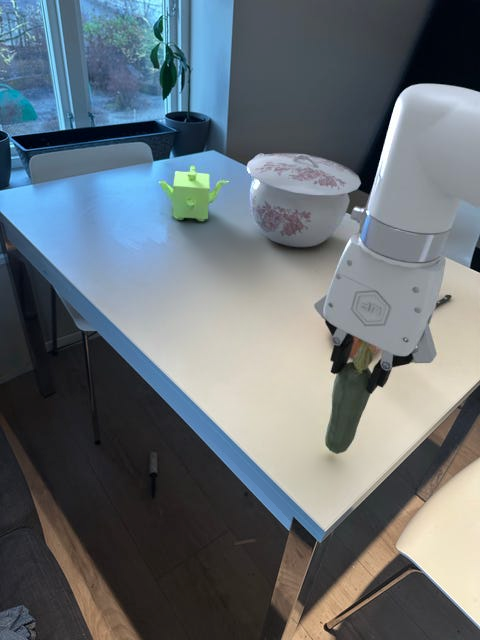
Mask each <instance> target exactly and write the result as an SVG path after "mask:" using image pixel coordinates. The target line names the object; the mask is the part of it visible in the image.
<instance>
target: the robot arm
mask: <svg viewBox="0 0 480 640" xmlns="http://www.w3.org/2000/svg"><path fill="white" fill-rule="evenodd" d="M462 202H465V203H466V204H468V205H470V206H473V207H474V208H477V209H479V210H480V91H476V90H474V89H471V88H466V87H462V86H456V85H450V84H440V83H418V84H412V85H410V86H408V87H406V88H405V89H404V90H403V91H402V92H401V93H399V96H398V97H397V99H396V101H395V104H394V107H393V111H392V113H391V118H390V121H389V125H388V129H387V131H386V136H385V139H384V143H383V147H382V151H381V155H380V160H379V163H378V166H377V170H376V174H375V177H374V181H373V185H372V189H371V193H370V197H369V200H368V204H367V206H363V207H361V206H358V205H355V206H354V207H353V209H352V210H351V213H350V219H351V220H353V221H355V222H356V223H357V224H359V229H358V232H356V233H354V234H352V235H351V236H350V238H349V240H348V242H347V243H346V245H345V248H344V250H343V251H342V254H341V256H340V259H339V261H338V264H337V266H336V269H335V272H334V275H333V277H332V280H331V283H330V286H329V289H328V291H327V294H325V295H324V296H322V298H320V299H319V300H317V301H316V302H315V303H314V304H313V306H314V309H315V310H316V312H317V313H318V314H319V315H320V317H321V318H322V319H324V323H325V325H326V327H327V329H328V331H329V333H330V334H331V336H332V337H331V342H332V344H333V349H332V351H331V355H330V362H331V363H332V365H331V369H330V373H331V374H333V375H337V373H338V372H339V371H340V369H341V368H342V367H343V366H344V365H345V364H346V363H348V362H349V359H350V357H351V356H350V353H351V350H352V346H353V343H354V339H353V338H354V337H353V336H355V337H357V338H359V339H361V340H363V341H366V342H368V343H370V344H372V345H374V346H376V347H378V349H380V350H381V355H380V356H381V357H380V359H379V360H378V361H377V363H376V364H374V366H373V367H372V371H371V373H372V374H371V377H370V380H369V382H368V385H367V388H366V390H367V392H368V393H370V395H372V394H373V393H374V392H375V390H376V389H377V388H378V387H380V388H382V389H383V388H384V386H385V385H386V384H387V382H388V380H389V378H390V376H391V372H392V370H393V368H398V367H401V366H407V365H410V364H412V363H414V364H431V363H432V362H433V361H434V360H435V358H436V357H437V355H438V353H437V349H436V347H435V342H434V339H433V335H432V331H431V329H430V328H431V327H430V324H431V320H432V318H433V315H434V312H435V309H436V308H435V306H436V303H437V301H438V299H439V295H440V292H441V288H442V284H443V279H444V276H445V275H444V274H445V269H446V268H445V267H446V257H445V256H444V254H442V252H443V250H444V247H445V245H446V242H447V239H448V237H449V235H450V232H451V229H452V226H453V224H454V222H455V219H456V216H457V214H458V212H459V209H460V206H461V203H462ZM352 335H353V336H352Z"/></svg>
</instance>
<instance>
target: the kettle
mask: <svg viewBox="0 0 480 640" xmlns="http://www.w3.org/2000/svg"><path fill="white" fill-rule="evenodd" d="M189 168H190V169H189V171H179V170H176V171H175V172H174V176H173V177H174V178H173V183H172V186H170V184H168V182H166V180H161V181H160V180H159V182H158V184H159V186H160V187H161V189H162V191H164V193H165V194H166V195H167V197H168V198H169V199H170V201H171V203H172V217H173V218H175V220H179V221H182V220H184V219H185V218H186V219H196V221H197V222H205V221H206V220H208V219H209V205H210V204H212V203H214V201H215V200H216V199H217V197H218V196H219V193H220V190H221V188H222V187H223V185H225V184H228V183H229V182H230V181H229V180H219V181H217V183H216V184H215V186H214V188H213V190H211V191H210V189H211V188H210V184H211V183H210V182H211V181H210V173H204V172H203V173H202V172H196V166H195V165H194V164H191V166H190V167H189Z"/></svg>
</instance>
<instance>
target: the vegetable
mask: <svg viewBox="0 0 480 640" xmlns="http://www.w3.org/2000/svg"><path fill="white" fill-rule="evenodd" d="M360 340H361V339H359V338H358V340H357V341H356V343H358V342H360ZM373 359H374V355H373V353H372V351H371V347H370V346H369V343H368V342H366V341H363V340H361V344H360V345H359V347H358V348H357V351H356V354H355V356H354V357H352V361H348V362H347V363H346V364H345V365H344V366H343V367H342V368H341V369H340V371H339V372H338V373H337V374H335V375H336V376H335V378H334V381H333V387H332V393H331V412H330V416H329V421H328V424H327V428H326V431H325V432H326V433H325V437H324V438H325V439H324V440H325V441H324V443H325V446H326V448H327V449H328V450H329V451H330V452H331V453H333V454H335V455H339V454H342V453H346V451H347V450H348V449H349V448H350V446H351V444H352V442H354V439H355V437H356V433H357V429H358V426H359V425H360V424H359V423H360V421H361V418H362V416H363V414H364V411H365V409H366V407H367V404H368V401H369V399H370V397H371V394H370V393H368V392H367V390H366V388H367V385H368V382H369V380H370V377H371V374H372V371H371V369H370V368H369V366H370V365H371V363H372V362H373Z"/></svg>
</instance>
